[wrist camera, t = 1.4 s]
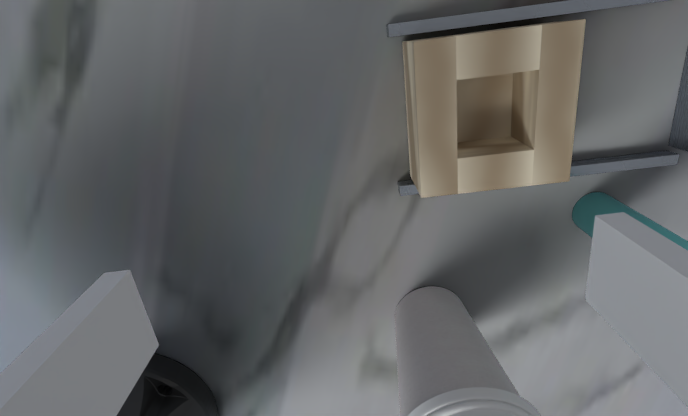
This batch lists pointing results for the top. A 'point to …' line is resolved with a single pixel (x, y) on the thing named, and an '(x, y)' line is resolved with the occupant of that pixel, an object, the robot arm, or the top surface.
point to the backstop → (684, 127)
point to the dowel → (607, 205)
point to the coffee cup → (449, 361)
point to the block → (492, 107)
